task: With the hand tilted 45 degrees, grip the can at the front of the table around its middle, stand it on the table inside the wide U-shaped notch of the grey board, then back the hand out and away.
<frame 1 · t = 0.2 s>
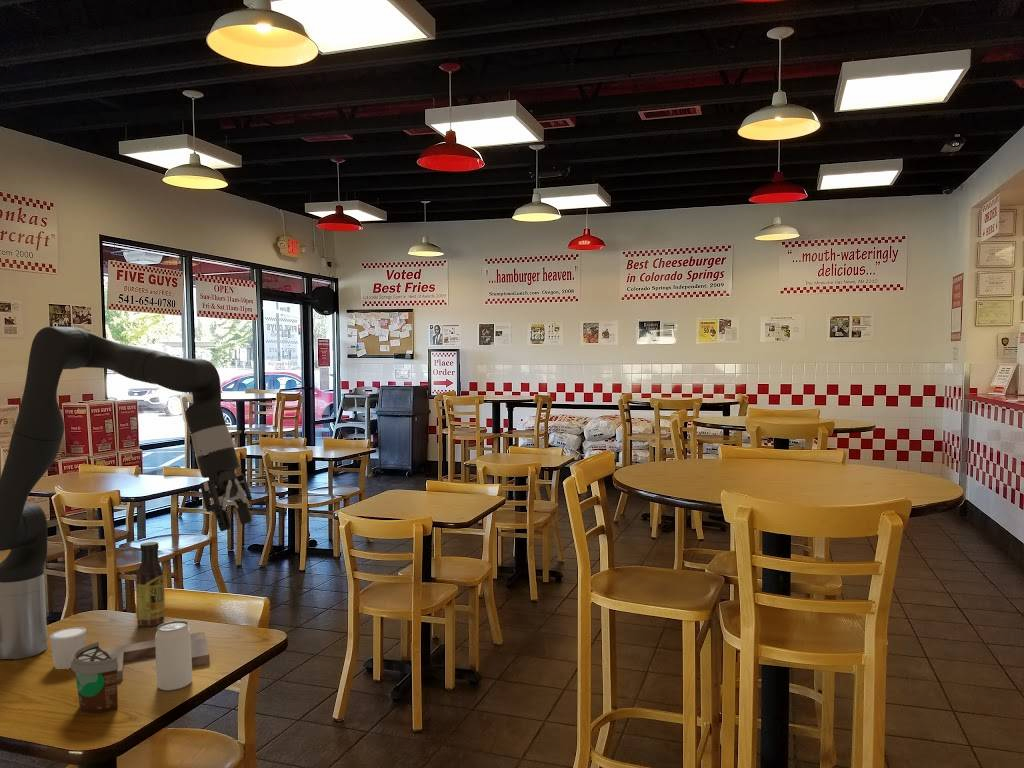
hand: (236, 526, 153), 30 cm above the table, tool tilted 20°, fingers open, 8 cm apart
food container: (92, 707, 140), on the table
can: (175, 685, 149), on the table
sauce bottle: (151, 624, 184), on the table
white short cylinder: (69, 665, 160), on the table
notched board: (152, 661, 161), on the table
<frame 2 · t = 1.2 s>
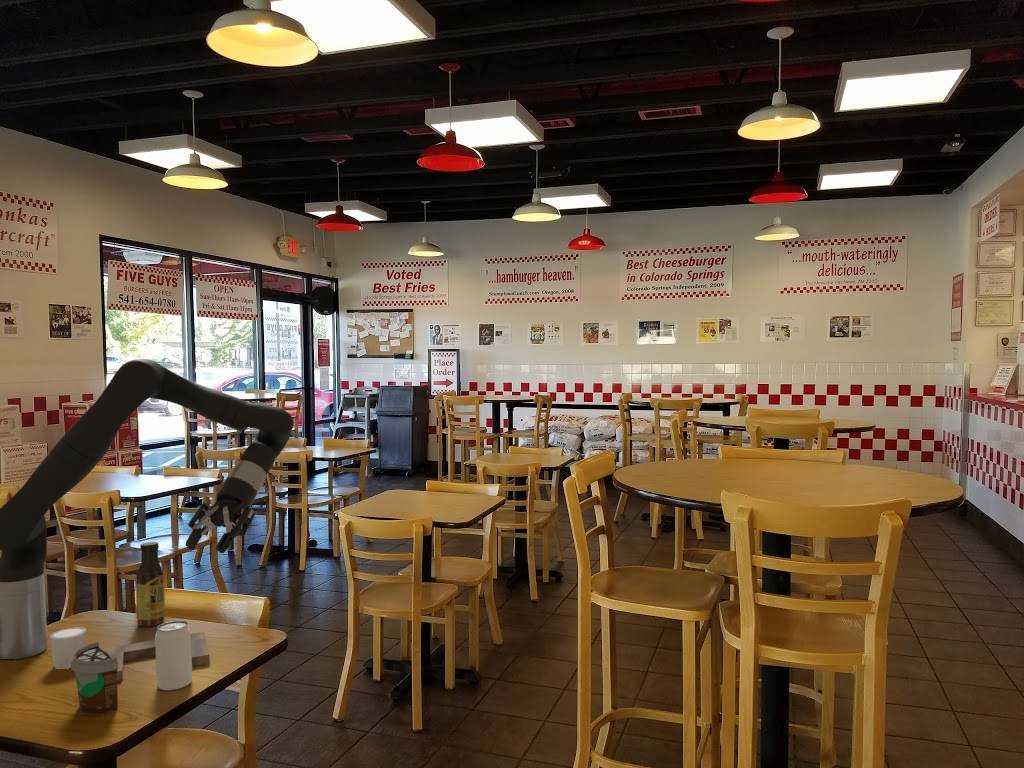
hand: (204, 549, 156), 25 cm above the table, tool tilted 45°, fingers open, 8 cm apart
nothing on the table moved.
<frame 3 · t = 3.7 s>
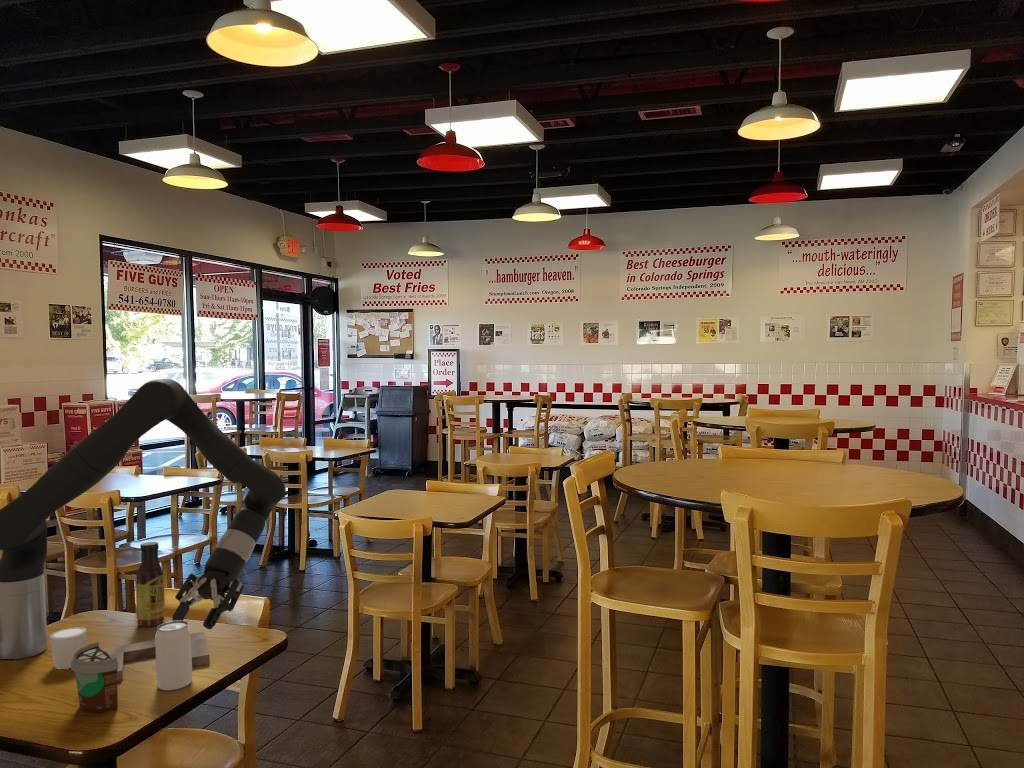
hand: (191, 624, 153), 11 cm above the table, tool tilted 45°, fingers open, 8 cm apart
nothing on the table moved.
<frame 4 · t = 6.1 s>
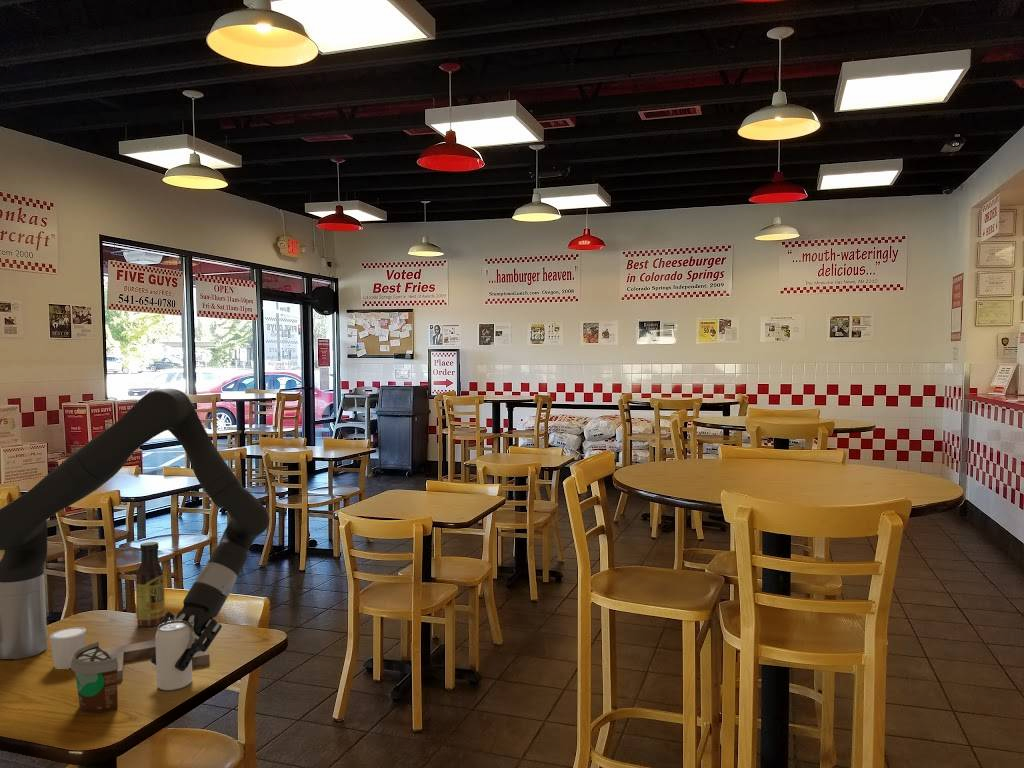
hand: (166, 666, 147), 4 cm above the table, tool tilted 45°, fingers closed on can, 6 cm apart
can: (175, 685, 149), on the table, touching gripper
everything else where it was.
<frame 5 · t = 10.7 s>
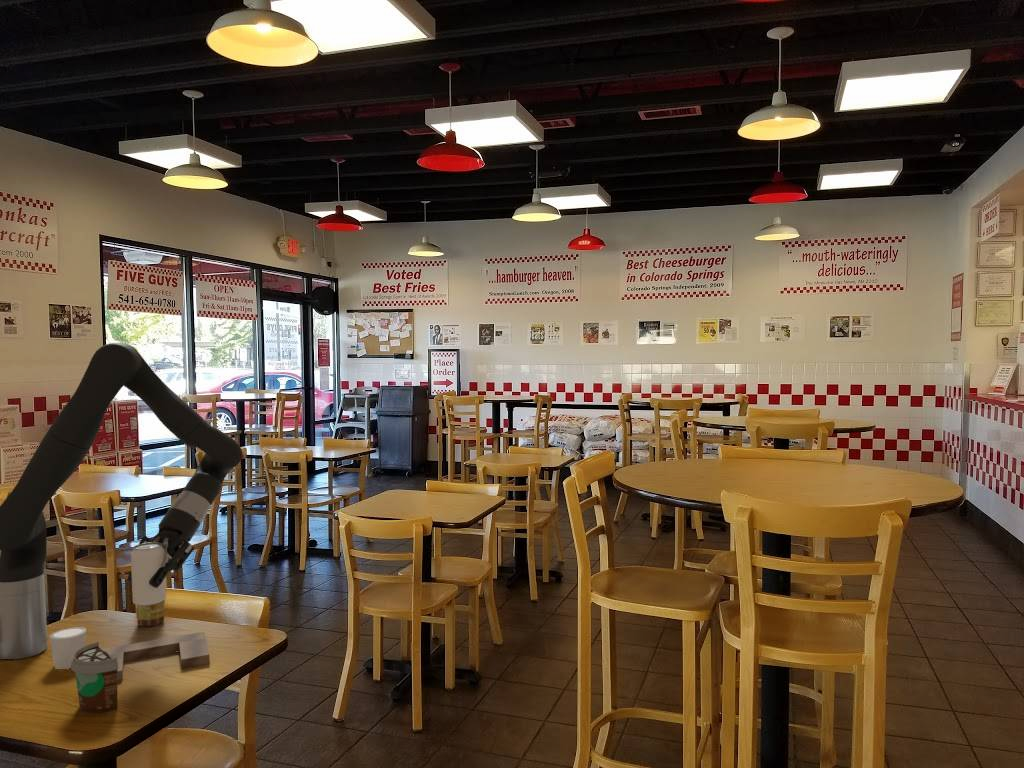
hand: (141, 583, 157), 18 cm above the table, tool tilted 45°, fingers closed on can, 6 cm apart
can: (149, 602, 158), point 14 cm above the table, touching gripper
everything else where it was.
when the fingers open (4 cm above the table, at t = 15.4 s): can stays where it is, on the table.
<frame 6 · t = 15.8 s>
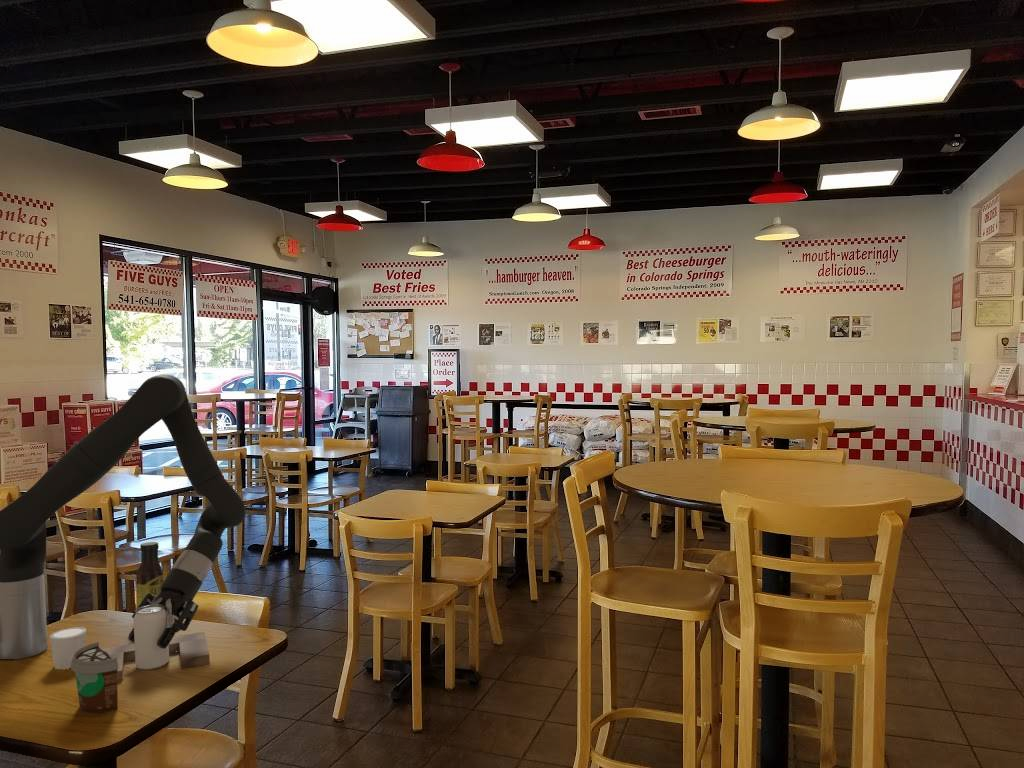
hand: (146, 644, 158), 5 cm above the table, tool tilted 45°, fingers open, 8 cm apart
can: (152, 665, 159), on the table
everything else where it was.
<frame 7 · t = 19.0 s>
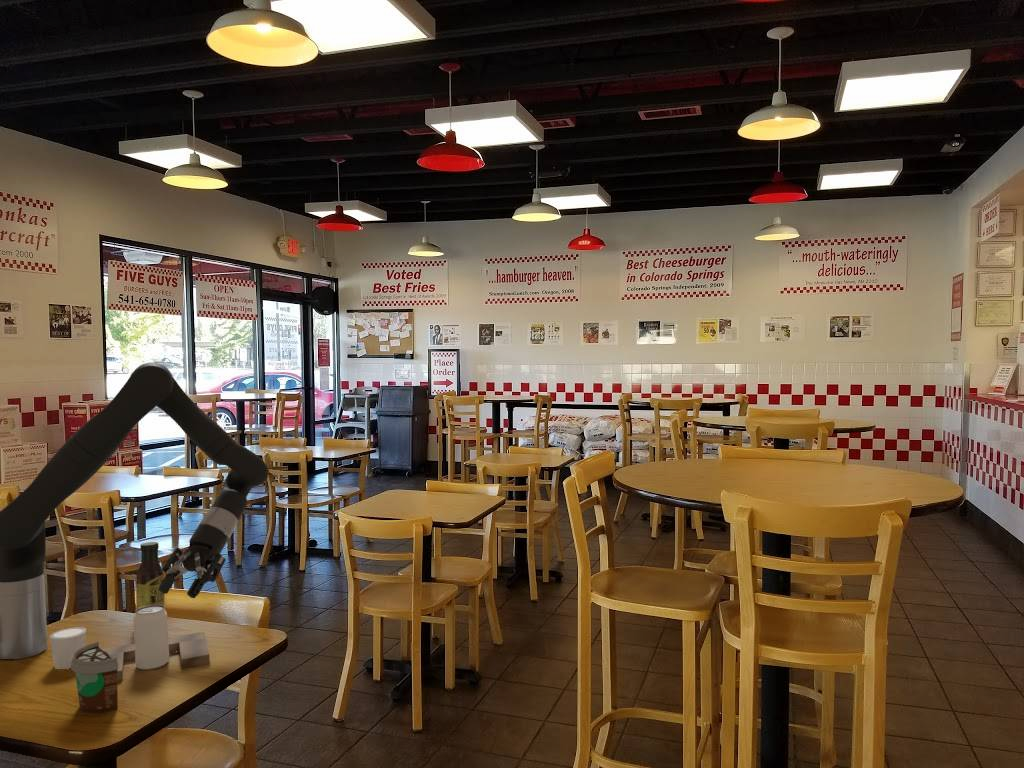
hand: (176, 594, 165), 13 cm above the table, tool tilted 45°, fingers open, 8 cm apart
nothing on the table moved.
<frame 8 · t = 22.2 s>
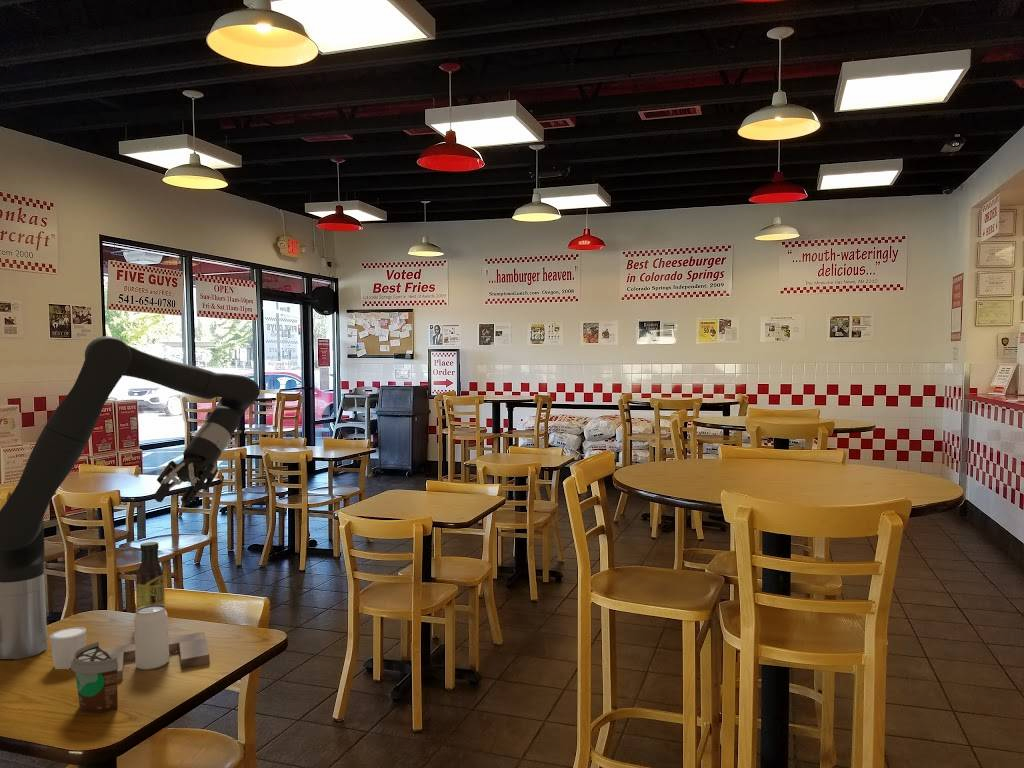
hand: (170, 501, 170), 33 cm above the table, tool tilted 45°, fingers open, 8 cm apart
nothing on the table moved.
at the end: can inside the target area on the notched board (0.4 cm from its centre), point 0.0 cm above the notched board's base; can tilted 0°; the gripper is holding nothing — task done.
